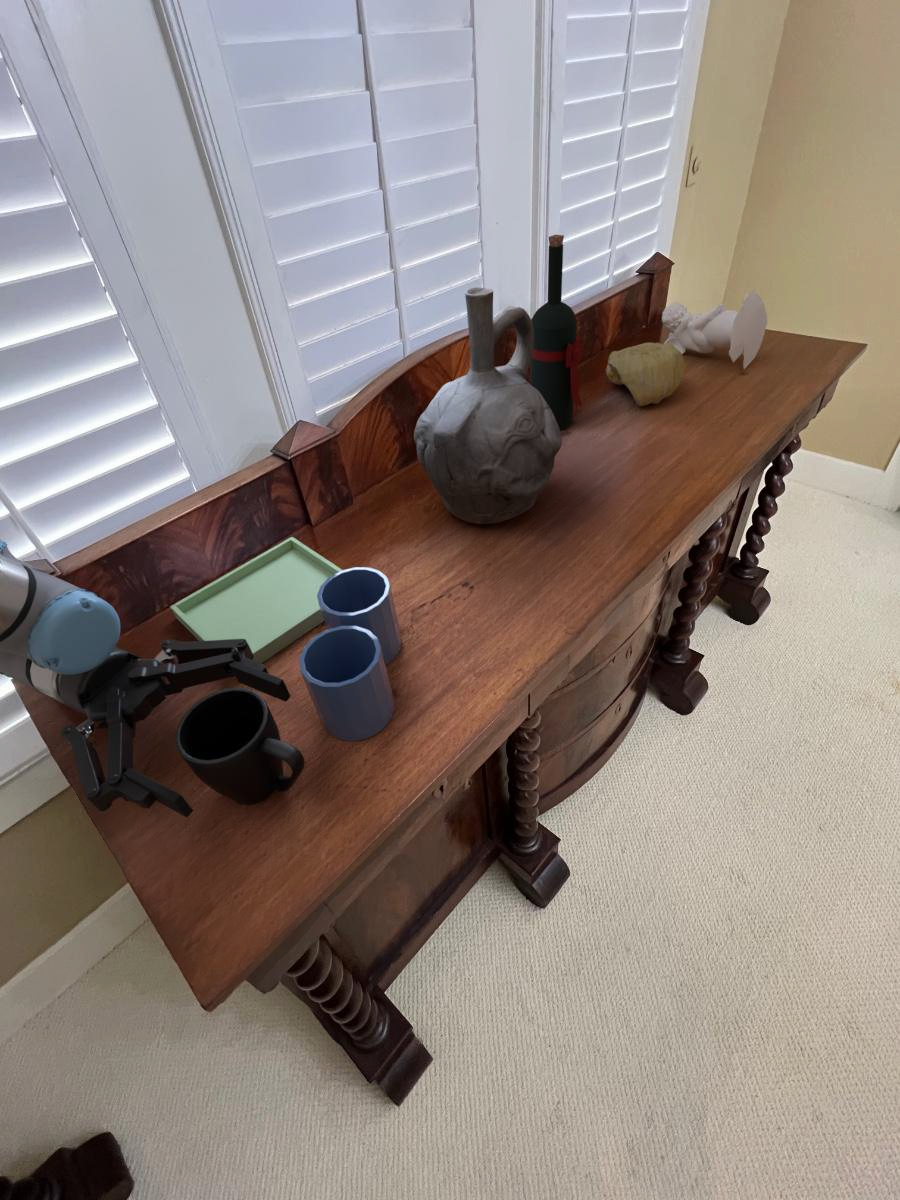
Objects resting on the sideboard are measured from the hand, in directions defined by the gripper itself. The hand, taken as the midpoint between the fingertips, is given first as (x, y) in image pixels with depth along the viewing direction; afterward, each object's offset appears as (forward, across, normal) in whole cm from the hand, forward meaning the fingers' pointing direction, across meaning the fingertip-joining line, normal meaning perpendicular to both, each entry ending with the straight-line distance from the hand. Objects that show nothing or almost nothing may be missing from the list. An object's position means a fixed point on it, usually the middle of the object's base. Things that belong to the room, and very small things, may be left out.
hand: (238, 744), depth 54 cm
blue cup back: (0, -20, -6) cm, 21 cm away
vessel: (+2, -54, -6) cm, 54 cm away
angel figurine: (+21, -117, -6) cm, 119 cm away
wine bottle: (+2, -80, -6) cm, 81 cm away
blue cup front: (+5, -11, -6) cm, 13 cm away
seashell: (+13, -97, -6) cm, 98 cm away
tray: (-16, -21, -6) cm, 27 cm away
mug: (+2, 0, -6) cm, 6 cm away
